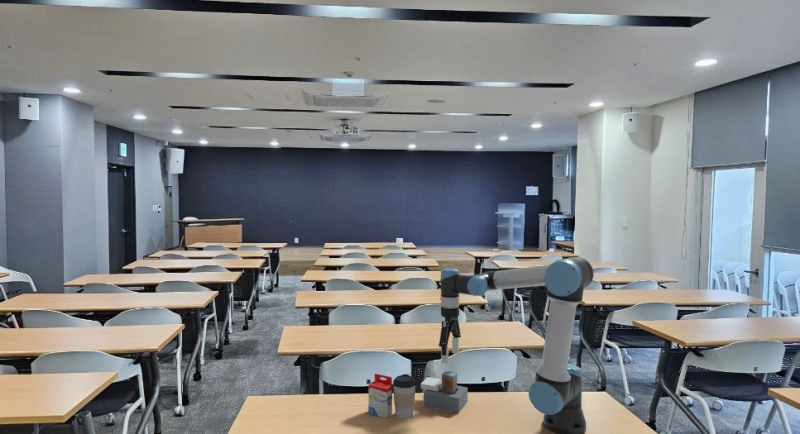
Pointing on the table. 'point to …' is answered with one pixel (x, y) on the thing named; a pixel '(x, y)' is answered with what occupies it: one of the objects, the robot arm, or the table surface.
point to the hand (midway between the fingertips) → (450, 357)
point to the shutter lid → (431, 384)
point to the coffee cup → (404, 396)
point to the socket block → (446, 399)
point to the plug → (449, 382)
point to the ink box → (380, 396)
